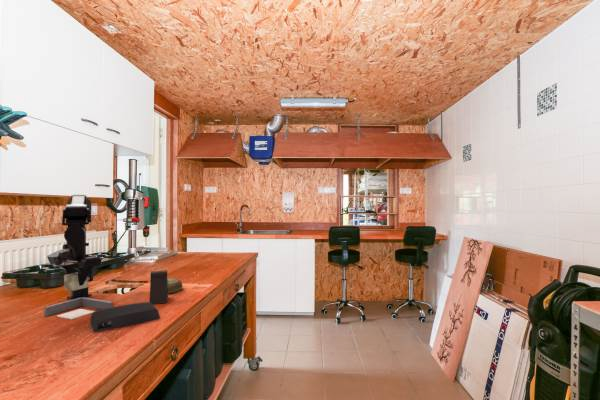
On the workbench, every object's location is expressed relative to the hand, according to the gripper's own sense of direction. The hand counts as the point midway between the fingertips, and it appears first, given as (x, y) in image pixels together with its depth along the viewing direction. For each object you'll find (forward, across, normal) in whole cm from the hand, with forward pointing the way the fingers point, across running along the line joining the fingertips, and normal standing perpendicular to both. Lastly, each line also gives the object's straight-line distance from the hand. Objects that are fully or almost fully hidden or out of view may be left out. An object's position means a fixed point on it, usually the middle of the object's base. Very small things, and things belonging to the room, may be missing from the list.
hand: (76, 284), depth 114 cm
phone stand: (+11, +15, +23) cm, 29 cm away
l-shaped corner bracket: (+11, 0, +2) cm, 11 cm away
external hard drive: (+11, +21, +2) cm, 24 cm away
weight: (+11, +6, +36) cm, 38 cm away
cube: (+1, 0, 0) cm, 1 cm away
